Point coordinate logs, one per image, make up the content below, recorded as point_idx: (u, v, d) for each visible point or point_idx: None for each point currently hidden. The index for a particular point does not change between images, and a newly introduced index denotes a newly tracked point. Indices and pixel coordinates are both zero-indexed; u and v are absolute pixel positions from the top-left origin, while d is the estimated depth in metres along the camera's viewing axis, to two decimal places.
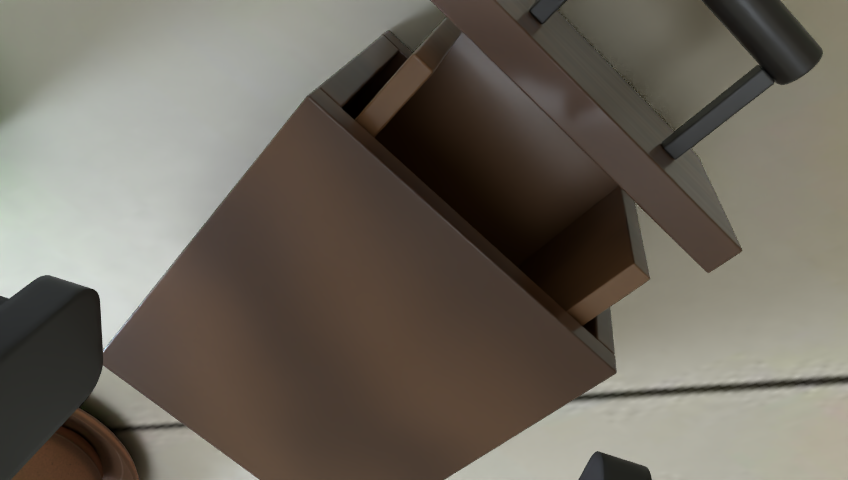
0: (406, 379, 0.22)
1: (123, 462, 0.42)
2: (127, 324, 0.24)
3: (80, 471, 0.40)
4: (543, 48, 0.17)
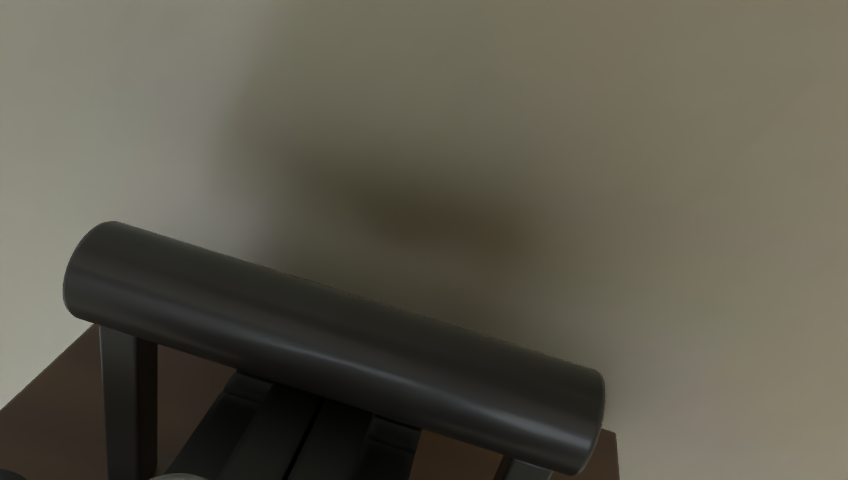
0: None
1: None
2: None
3: None
4: None
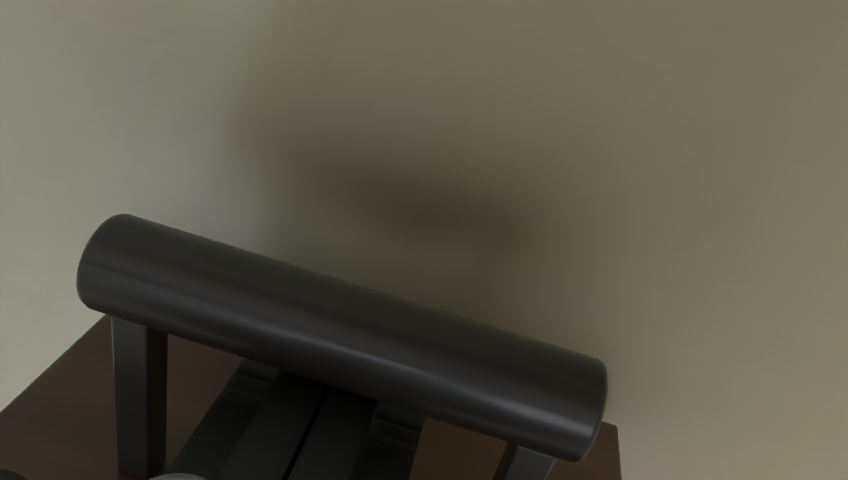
0: None
1: None
2: None
3: None
4: None
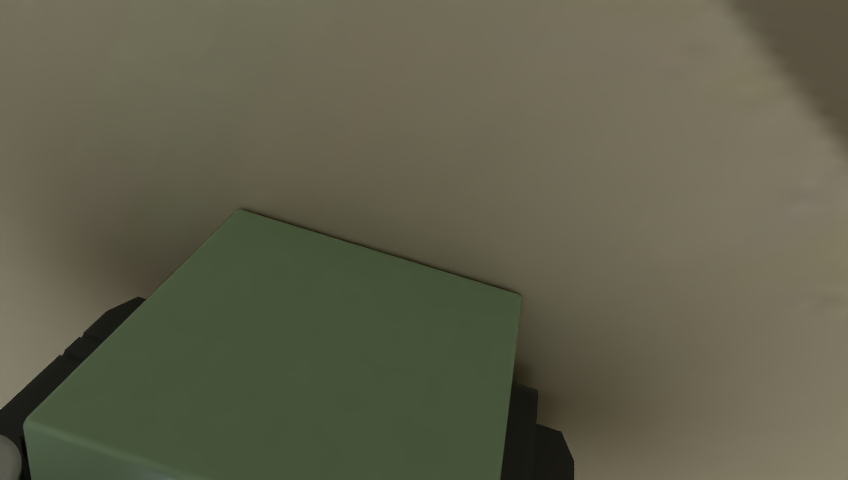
0: None
1: None
2: None
3: None
4: None
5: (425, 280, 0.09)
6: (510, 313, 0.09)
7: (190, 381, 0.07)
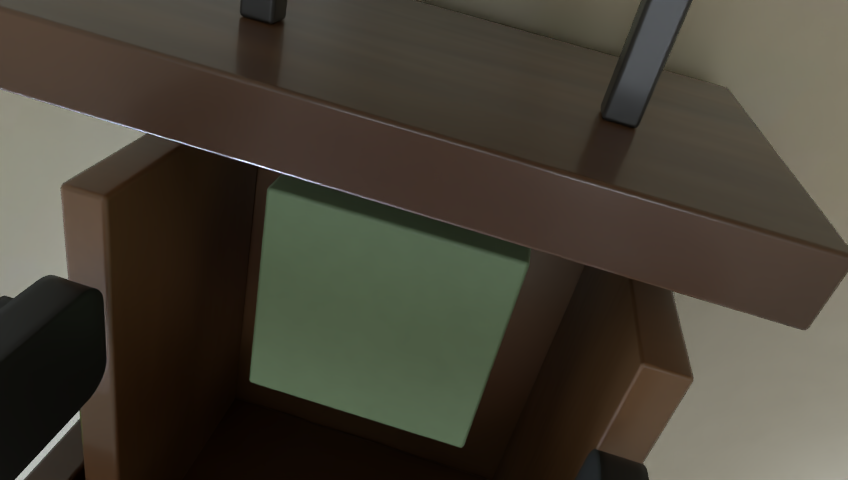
0: None
1: None
2: None
3: None
4: (210, 67, 0.08)
5: None
6: None
7: None
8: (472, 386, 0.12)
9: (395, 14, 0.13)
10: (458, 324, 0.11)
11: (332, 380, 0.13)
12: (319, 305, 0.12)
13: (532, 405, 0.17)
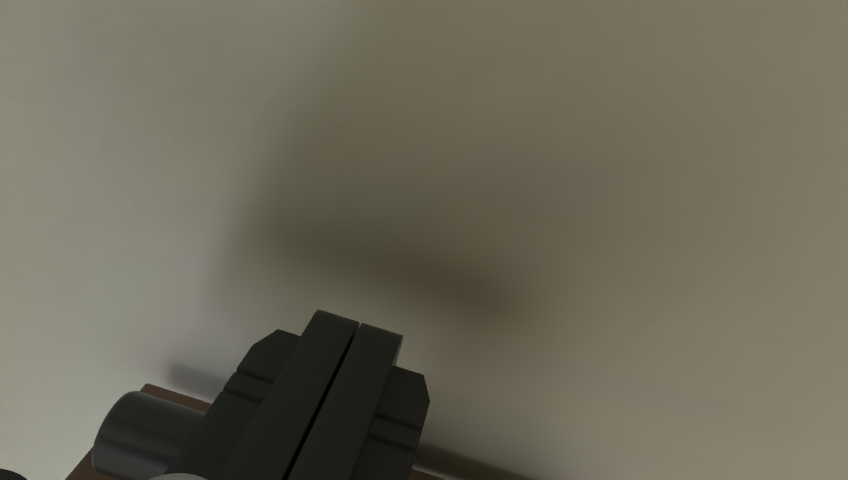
0: None
1: None
2: None
3: None
4: None
5: None
6: None
7: None
8: None
9: None
10: None
11: None
12: None
13: None
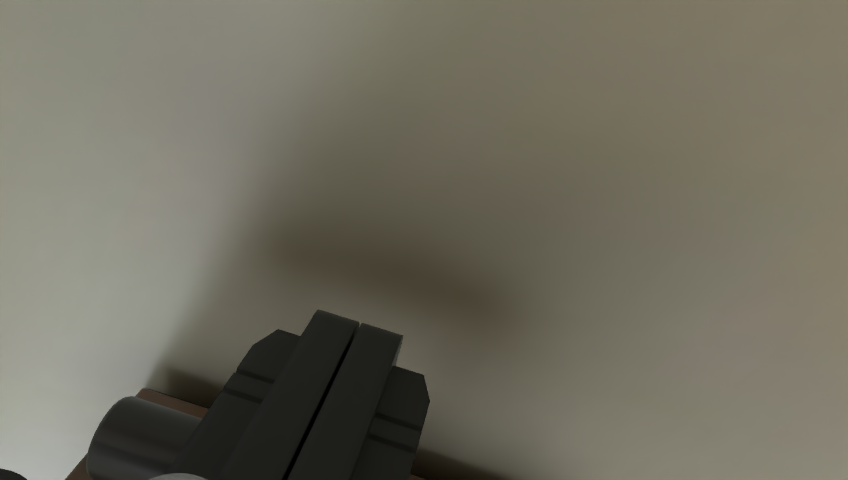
0: None
1: None
2: None
3: None
4: None
5: None
6: None
7: None
8: None
9: None
10: None
11: None
12: None
13: None
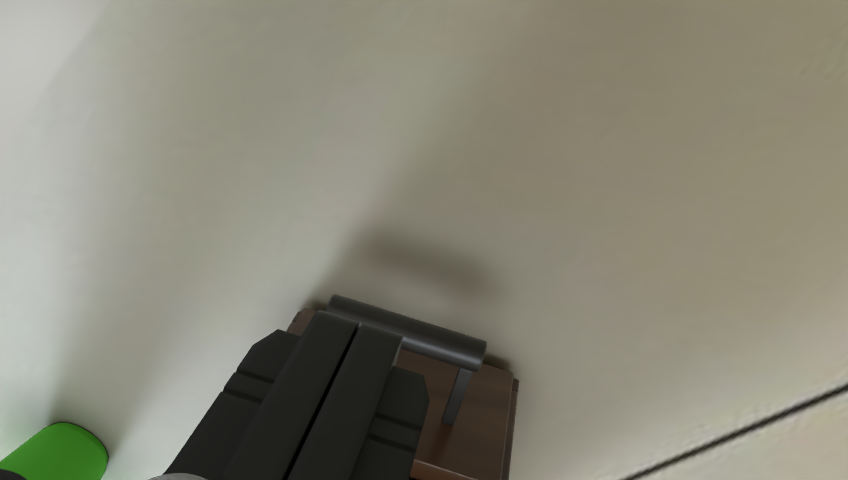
0: None
1: None
2: None
3: None
4: None
5: None
6: None
7: None
8: None
9: None
10: None
11: None
12: None
13: None
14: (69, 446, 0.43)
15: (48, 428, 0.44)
